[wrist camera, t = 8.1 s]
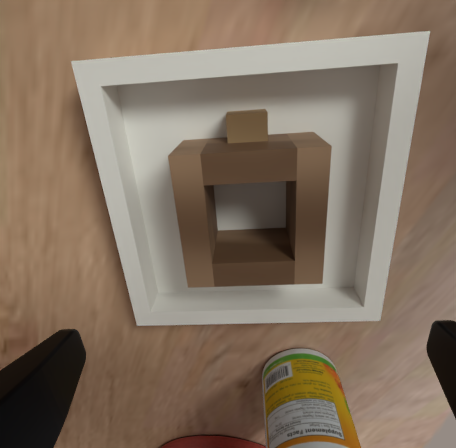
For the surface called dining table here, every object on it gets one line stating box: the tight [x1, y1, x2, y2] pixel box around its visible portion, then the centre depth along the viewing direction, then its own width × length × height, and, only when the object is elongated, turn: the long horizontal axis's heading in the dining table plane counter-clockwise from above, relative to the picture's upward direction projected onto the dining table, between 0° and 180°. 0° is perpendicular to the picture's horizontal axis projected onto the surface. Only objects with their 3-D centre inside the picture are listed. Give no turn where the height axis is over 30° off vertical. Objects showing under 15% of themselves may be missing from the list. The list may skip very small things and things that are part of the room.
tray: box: [71, 31, 430, 326], centre depth 16 cm, size 14×14×2 cm
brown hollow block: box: [168, 109, 332, 288], centre depth 15 cm, size 8×6×4 cm
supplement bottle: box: [262, 348, 361, 448], centre depth 19 cm, size 5×5×10 cm
